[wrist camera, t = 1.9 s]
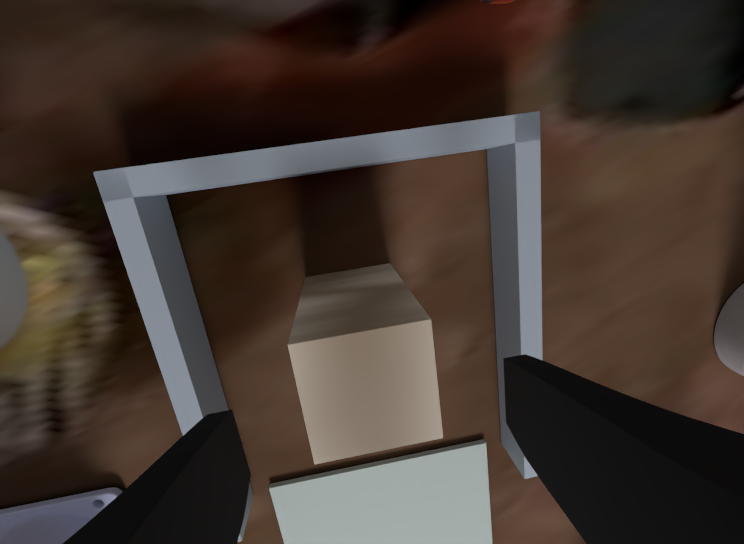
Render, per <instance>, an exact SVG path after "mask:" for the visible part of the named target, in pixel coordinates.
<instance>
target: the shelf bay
mask: <svg viewBox="0 0 744 544" xmlns="http://www.w3.org/2000/svg"><path fill="white" fill-rule="evenodd" d="M483 149H487V165H488V186H489V206H490V227H491V247H492V268H493V288H494V309H495V329H496V349H497V370H498V390H499V411H500V431H501V444H502V445H503V447H504V448H505V450H506V451H507V453H508V454H509V456H510V457H511V459H512V460H513V462H514V463H515V465H516V466H517V468H518V470H519V471H520V473H521V474H522V476H523V477H524V479H527V478H531V477H536V476H538V475H537V474H536V472H535V471H534V469H533V468H532V467H531V465H530V464H529V462H528V461H527V459H526V458H525V456H524V454H523V453H522V451H521V449H520V447H519V446H518V444H517V442H516V440H515V438H514V437H513V435H512V433H511V431H510V429H509V427H508V425H507V423H506V410H505V387H504V363H503V358H508V357H513V356H518V355H524V354H526V355H529V356H532V357H535V358H537V359H540V360H542V268H541V167H540V111H538V112H530V113H523V114H515V115H508V116H501V117H493V118H486V119H479V120H471V121H464V122H457V123H449V124H442V125H435V126H427V127H420V128H413V129H405V130H398V131H391V132H383V133H376V134H368V135H361V136H354V137H346V138H339V139H332V140H324V141H317V142H310V143H302V144H295V145H288V146H280V147H273V148H266V149H258V150H251V151H244V152H236V153H229V154H222V155H214V156H207V157H199V158H192V159H185V160H177V161H170V162H163V163H155V164H148V165H141V166H133V167H126V168H119V169H111V170H104V171H97V172H93V173H94V176H95V179H96V182H97V185H98V188H99V191H100V194H101V197H102V200H103V202H104V205H105V208H106V211H107V214H108V217H109V220H110V223H111V226H112V229H113V232H114V235H115V238H116V241H117V244H118V246H119V249H120V252H121V255H122V258H123V261H124V264H125V267H126V270H127V273H128V276H129V279H130V282H131V285H132V288H133V290H134V293H135V296H136V299H137V302H138V305H139V308H140V311H141V314H142V317H143V320H144V323H145V326H146V329H147V332H148V334H149V337H150V340H151V343H152V346H153V349H154V352H155V355H156V358H157V361H158V364H159V367H160V370H161V373H162V375H163V378H164V381H165V384H166V387H167V390H168V393H169V396H170V399H171V402H172V405H173V408H174V411H175V414H176V417H177V419H178V422H179V425H180V428H181V431H182V434H183V436H184V435H185V434H186V433H187V432H188V431H189V430H190V429H191V428H192V427H193V426H194V425H196V424H197V423H198V422H199V421H200V420H201V419H202V418H204V417H205V416H206V415H207V414H211V413H217V412H222V411H227V410H229V409H228V406H227V403H226V399H225V396H224V392H223V389H222V385H221V382H220V379H219V375H218V372H217V368H216V365H215V361H214V358H213V355H212V351H211V348H210V344H209V341H208V338H207V334H206V331H205V327H204V324H203V320H202V317H201V314H200V310H199V307H198V303H197V300H196V296H195V293H194V290H193V286H192V283H191V279H190V276H189V272H188V269H187V266H186V262H185V259H184V255H183V252H182V248H181V245H180V242H179V238H178V235H177V231H176V228H175V225H174V221H173V218H172V214H171V211H170V207H169V204H168V201H167V197H166V195H169V194H176V193H183V192H190V191H197V190H204V189H211V188H218V187H225V186H232V185H239V184H246V183H253V182H260V181H267V180H273V179H280V178H287V177H294V176H301V175H308V174H315V173H322V172H329V171H336V170H343V169H350V168H357V167H364V166H371V165H378V164H385V163H392V162H399V161H406V160H413V159H420V158H427V157H434V156H441V155H448V154H455V153H462V152H469V151H476V150H483ZM252 499H253V492H252V488H251V485H250V483H249V490H248V497H247V503H246V509H245V514H244V519H243V523H242V527H241V531H240V534H239V538H238V542H240V541H242V540H243V535H244V531H245V527H246V523H247V519H248V515H249V511H250V507H251V503H252Z"/></svg>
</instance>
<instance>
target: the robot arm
mask: <svg viewBox="0 0 744 544" xmlns="http://www.w3.org/2000/svg"><path fill="white" fill-rule="evenodd" d="M503 363H504V387H505V410H506V423H507V425H508V427H509V429H510V431H511V433H512V435H513V437H514V438H515V440H516V442H517V444H518V446H519V447H520V449H521V451H522V453H523V454H524V456H525V458H526V459H527V461H528V462H529V464H530V465H531V467H532V468H533V469H534V471H535V472H536V474H537V475H538V477H539V478H540V479H541V481H542V482H543V484H544V485H545V486H546V488H547V489H548V491H549V492H550V493H551V495H552V496H553V498H554V499H555V500H556V502H557V503H558V504H559V506H560V507H561V509H562V510H563V511H564V513H565V514H566V516H567V517H568V518H569V520H570V521H571V522H572V524H573V525H574V527H575V528H576V529H577V531H578V532H579V534H580V535H581V536H582V538H583V539H584V541H585V542H586V543H587V544H744V434H741V433H738V432H734V431H731V430H728V429H725V428H721V427H718V426H715V425H712V424H708V423H705V422H702V421H699V420H695V419H692V418H689V417H686V416H683V415H680V414H677V413H674V412H671V411H668V410H665V409H663V408H660V407H657V406H655V405H652V404H649V403H646V402H644V401H641V400H638V399H635V398H633V397H630V396H628V395H625V394H622V393H620V392H617V391H615V390H612V389H610V388H607V387H605V386H602V385H600V384H597V383H595V382H593V381H590V380H588V379H585V378H583V377H581V376H578V375H576V374H574V373H571V372H569V371H566V370H564V369H562V368H559V367H557V366H555V365H552V364H550V363H547V362H545V361H542V360H540V359H537V358H535V357H532V356H529V355H526V354H524V355H518V356H513V357H508V358H503ZM250 476H251V473H250V470H249V467H248V463H247V460H246V456H245V453H244V449H243V446H242V442H241V439H240V436H239V432H238V429H237V425H236V422H235V418H234V415H233V411H232V410H227V411H222V412H217V413H211V414H207V415H206V416H205V417H204V418H202V419H201V420H200V421H199V422H198V423H197V424H196V425H194V426H193V427H192V428H191V429H190V430H189V431H188V432H187V433H186V434H185V435H184V436H182V437H181V438H180V439H179V440H178V441H177V442H176V443H175V444H174V445H173V446H172V447H171V448H170V449H169V450H168V451H167V452H165V453H164V454H163V455H162V456H161V457H160V458H159V459H158V460H157V461H156V462H155V463H154V464H153V465H152V466H150V467H149V468H148V469H147V470H146V471H145V472H144V473H143V474H142V475H141V476H140V477H139V478H138V479H137V480H135V481H134V482H133V483H132V484H131V485H130V486H129V487H128V488H126V489H125V490H124V491H123V492H122V491H121V490H120V489H119V488H115V487H112V488H105V489H101V490H96V491H91V492H86V493H81V494H76V495H71V496H66V497H61V498H56V499H51V500H46V501H41V502H36V503H31V504H26V505H22V506H17V507H12V508H7V509H2V510H0V544H237V542H238V538H239V534H240V531H241V527H242V523H243V519H244V514H245V509H246V503H247V497H248V490H249V483H250ZM101 500H102V501H101Z"/></svg>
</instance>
